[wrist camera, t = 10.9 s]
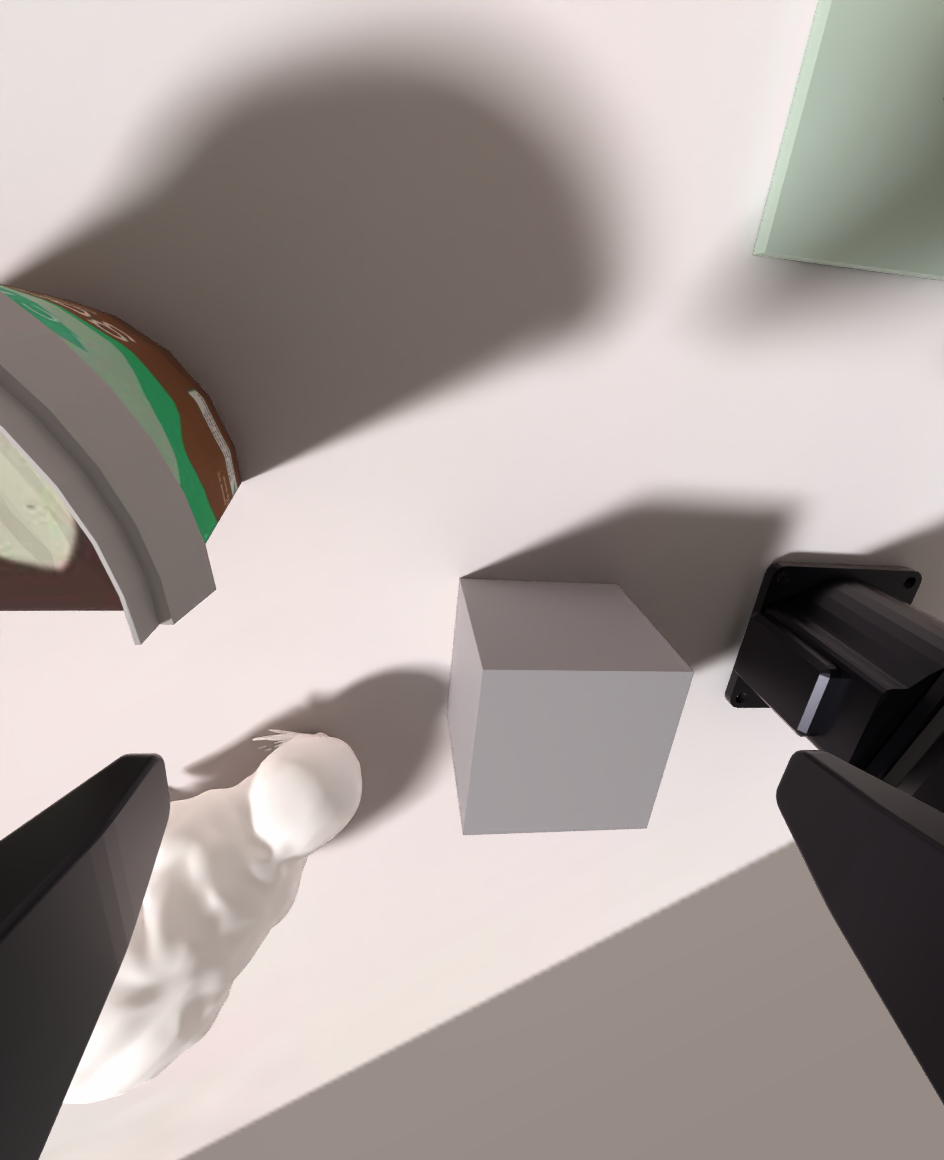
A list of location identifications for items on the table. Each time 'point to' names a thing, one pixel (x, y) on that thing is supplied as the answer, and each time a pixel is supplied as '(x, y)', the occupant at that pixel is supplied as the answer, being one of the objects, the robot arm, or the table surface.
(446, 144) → the table surface
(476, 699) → the medium grey block
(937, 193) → the sage mat
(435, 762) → the table surface
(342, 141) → the table surface
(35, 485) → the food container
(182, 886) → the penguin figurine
